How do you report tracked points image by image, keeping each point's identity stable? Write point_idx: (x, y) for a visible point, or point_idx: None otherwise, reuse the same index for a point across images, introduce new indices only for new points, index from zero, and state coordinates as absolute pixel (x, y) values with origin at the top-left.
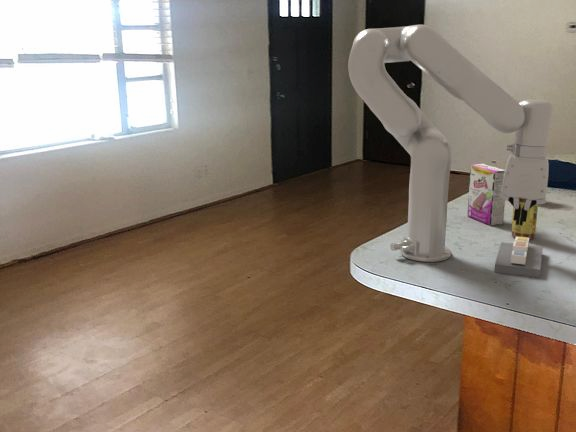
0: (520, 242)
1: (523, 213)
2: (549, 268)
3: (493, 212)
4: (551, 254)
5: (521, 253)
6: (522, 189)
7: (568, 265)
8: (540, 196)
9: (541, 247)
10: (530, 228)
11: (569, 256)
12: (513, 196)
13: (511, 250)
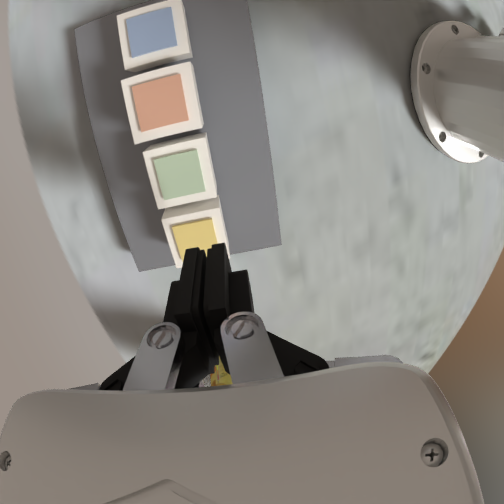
0: (165, 122)
1: (180, 298)
2: (80, 138)
3: None
4: (122, 268)
5: (139, 28)
6: (187, 495)
7: (50, 202)
8: (21, 414)
9: (139, 262)
10: (219, 368)
11: (80, 277)
12: (290, 380)
13: (223, 170)
